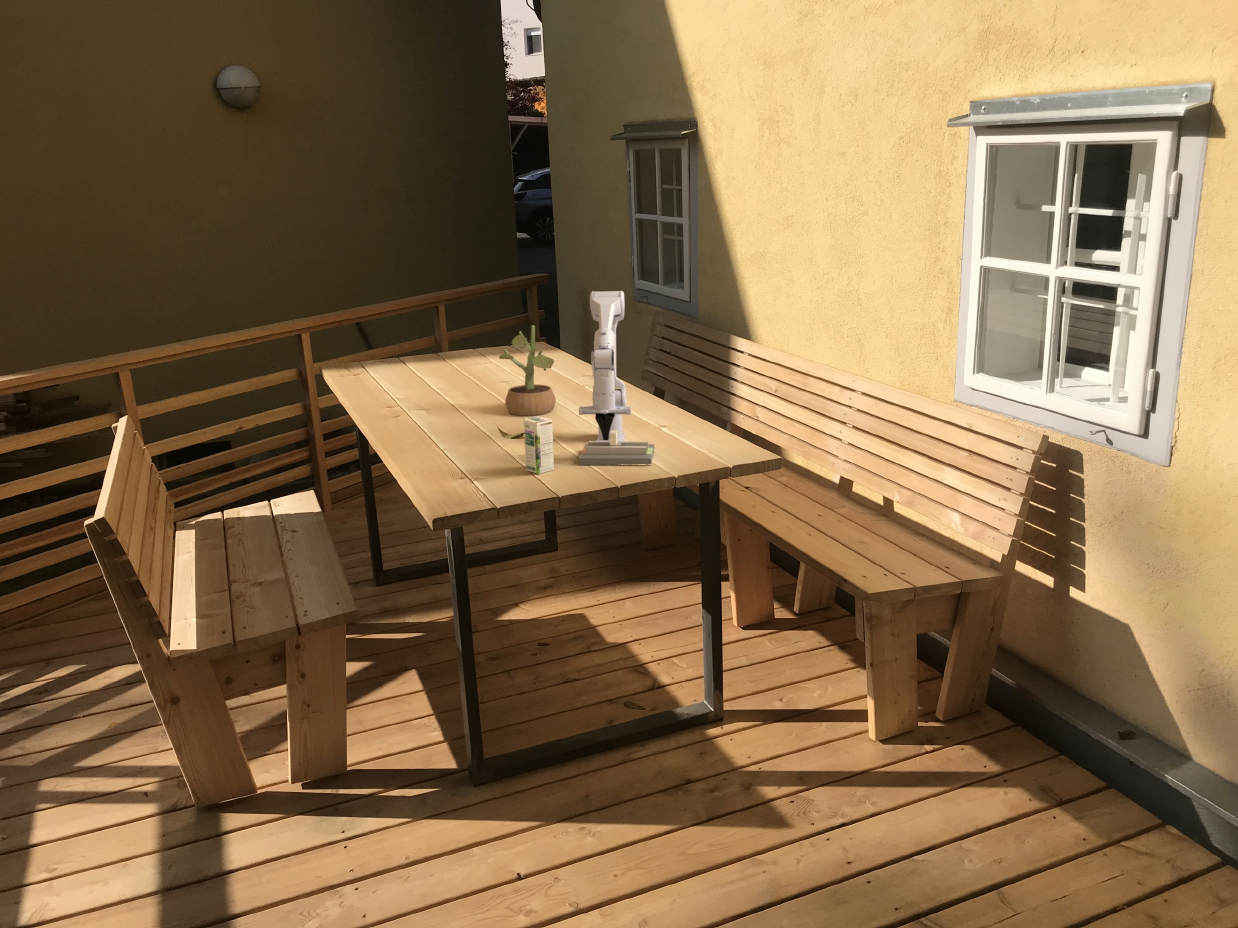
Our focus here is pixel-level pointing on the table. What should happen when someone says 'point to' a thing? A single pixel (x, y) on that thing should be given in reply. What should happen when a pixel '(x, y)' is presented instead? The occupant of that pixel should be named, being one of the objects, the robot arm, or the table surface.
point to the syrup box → (538, 444)
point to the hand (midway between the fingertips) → (606, 439)
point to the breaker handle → (613, 439)
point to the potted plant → (529, 382)
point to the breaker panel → (616, 453)
